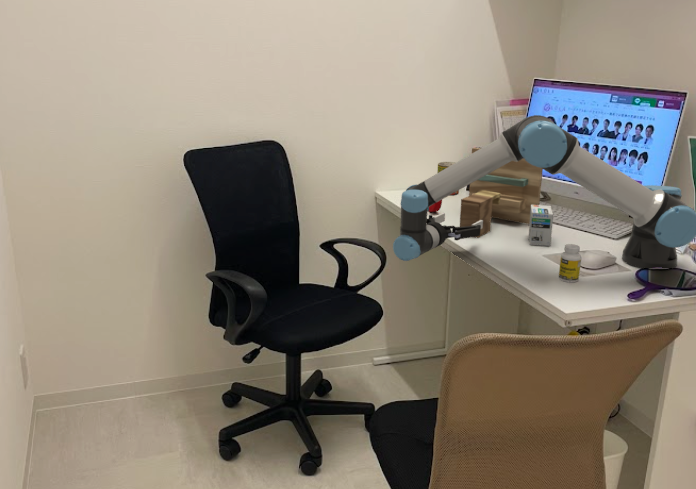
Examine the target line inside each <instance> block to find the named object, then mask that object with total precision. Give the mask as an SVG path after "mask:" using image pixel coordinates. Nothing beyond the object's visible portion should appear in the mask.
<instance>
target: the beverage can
mask: <svg viewBox="0 0 696 489" xmlns="http://www.w3.org/2000/svg"><path fill="white" fill-rule="evenodd" d="M455 163H456V162H453V161H441V162H437V173H439V172H441V171H442V170H444V169H446V168H448V167H449V166H451V165H453V164H455ZM437 173H436V174H437ZM459 194H460V190H458V191H456V192H454V193H453V194H451V195H449V196H448V197H451V196H457V195H459Z"/></svg>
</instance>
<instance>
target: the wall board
mask: <svg viewBox="0 0 696 489" xmlns="http://www.w3.org/2000/svg"><path fill="white" fill-rule="evenodd" d="M481 148H482V147H480V148H478V147H473V148H472V147H471V154H472V153H474V152H476V151H478V150H479V149H481ZM543 170H544V169H542V168H540V167H536V166H533V165H531V164H529V163H528V162H527V161H526V160H525V159H521V160H520V161H518V162H515V161H511V162H509V163H507V164H505V165H503V166H502V167H500V168H498V169H496V170H494V171H492V172H491V173H489V174H487V175H485V176H483V177H482V178H480V179H478V180H476V181H474V182H473V183H471V184H469V189H468V190H469V191H468V193H469V194H468V196H470V195H472V194H475V193H478V192H480V191H482V190H484V191H490V192H496V193H500V204H492V213H491V218H494V219H499V220H505V221H509V222H510V221H511V222H514V223H515V222H516V223H521V224H527V225H529V223H530V210H531V205H540V203H541V202H540V201H541V192H542V182H543V180H542V179H543Z"/></svg>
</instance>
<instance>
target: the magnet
mask: <svg viewBox="0 0 696 489" xmlns="http://www.w3.org/2000/svg"><path fill="white" fill-rule="evenodd" d="M442 204H443V199H442V200H440V201H438V202H437V203H435V204H433V205H431V206H430V207H428V208H427V212H430V213H435V212H439V211H440V209H441V207H442Z"/></svg>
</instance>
